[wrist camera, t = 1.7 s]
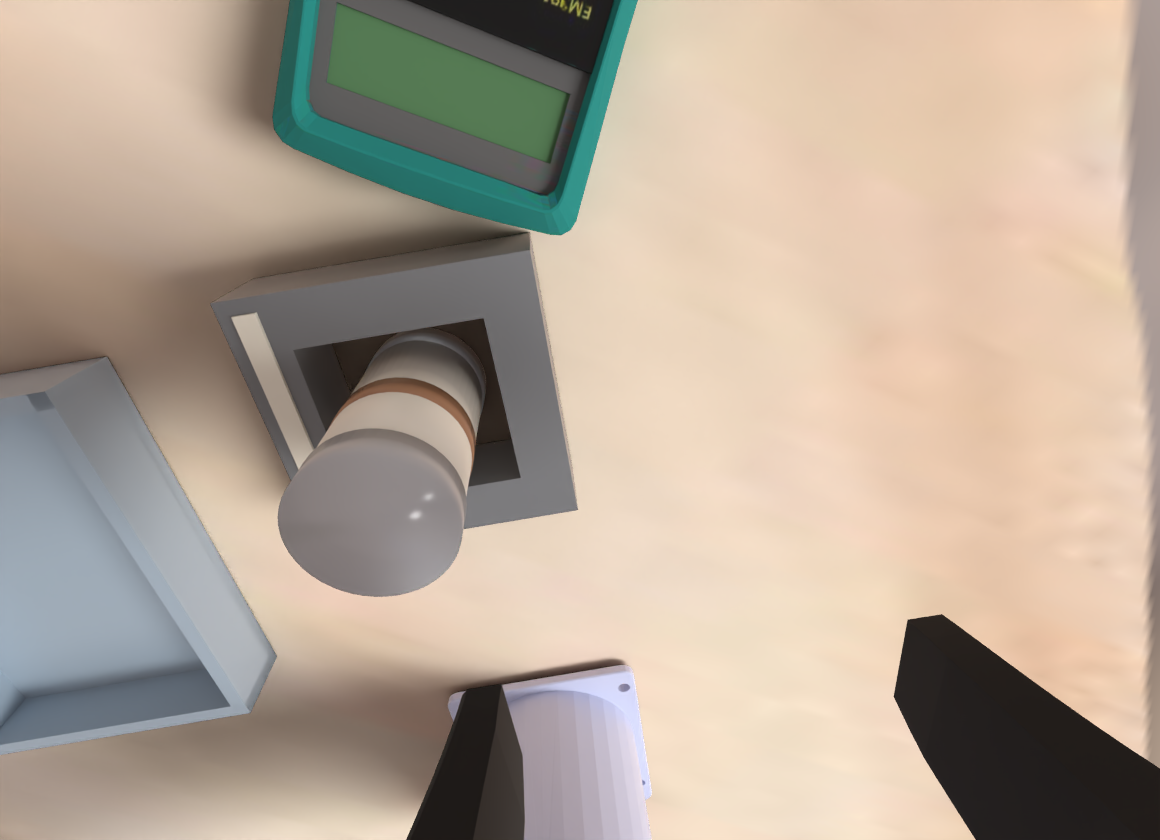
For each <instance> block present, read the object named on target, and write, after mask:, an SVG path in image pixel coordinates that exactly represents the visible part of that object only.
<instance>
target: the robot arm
mask: <svg viewBox="0 0 1160 840" xmlns="http://www.w3.org/2000/svg"><path fill="white" fill-rule="evenodd" d="M894 698H895V700H896V702H897V704H898V706H899V708H900V711H901V713H902V715H903V717H904V719H905V721H906V723H907V725H908V727H909V729H910V731H911V733H912V735H913V737H914V739H915V741H916V743H917V745H918V747H919V749H920V751H921V753H922V755H923V757H924V758H925V760H926V762H927V763H928V765H929V766H930V768H931V770H932V771H933V773H934V775H935V776H936V778H937V779H938V781H939V783H940V784H941V786H942V787H943V789H944V790H945V792H946V794H947V795H948V797H949V798H950V800H951V802H952V803H953V805H954V806H955V808H956V809H957V811H958V813H959V814H960V816H961V817H962V819H963V820H964V822H965V824H966V825H967V827H968V828H969V830H970V831H971V833H972V835H973V836H974V838H975V839H976V840H1160V768H1158V767H1157V766H1155V765H1154V764H1152V763H1151V762H1149V761H1148V760H1146V759H1144V758H1143V757H1141V756H1140V755H1138V754H1137V753H1135V752H1134V751H1132V750H1131V749H1129V748H1128V747H1126V746H1125V745H1123V744H1122V743H1120V742H1119V741H1117V740H1116V739H1114V738H1113V737H1111V736H1110V735H1109V734H1107V733H1106V732H1104V731H1103V730H1101V729H1100V728H1098V727H1097V726H1095V725H1094V724H1092V723H1091V722H1090V721H1088V720H1087V719H1085V718H1084V717H1082V716H1081V715H1080V714H1078V713H1077V712H1075V711H1074V710H1073V709H1071V708H1070V707H1068V706H1067V705H1065V704H1064V703H1063V702H1061V701H1060V700H1058V699H1057V698H1056V697H1054V696H1053V695H1051V694H1050V693H1049V692H1047V691H1046V690H1044V689H1043V688H1042V687H1040V686H1039V685H1037V684H1036V683H1035V682H1033V681H1032V680H1031V679H1029V678H1028V677H1026V676H1025V675H1024V674H1022V673H1021V672H1020V671H1018V670H1017V669H1016V668H1014V667H1013V666H1011V665H1010V664H1009V663H1007V662H1006V661H1005V660H1003V659H1002V658H1001V657H999V656H998V655H997V654H995V653H994V652H992V651H991V650H990V649H988V648H987V647H986V646H984V645H983V644H982V643H980V642H979V641H978V640H976V639H975V638H974V637H972V636H971V635H970V634H968V633H967V632H965V631H964V630H963V629H961V628H960V627H959V626H957V625H956V624H955V623H953V622H952V621H950V620H949V619H948V618H946V617H945V616H944V615H942V614H941V615H935V616H929V617H922V618H916V619H910V620H908V621H907V626H906V632H905V637H904V643H903V649H902V654H901V660H900V665H899V671H898V676H897V682H896V687H895V693H894ZM448 709H449V712H450V714H451V717H452V720H453V725H452V728H451V731H450V734H449V736H448V739H447V742H446V744H445V747H444V750H443V752H442V755H441V758H440V760H439V763H438V765H437V768H436V770H435V773H434V776H433V778H432V781H431V783H430V785H429V788H428V790H427V792H426V795H425V797H424V800H423V802H422V804H421V807H420V809H419V811H418V814H417V816H416V818H415V821H414V823H413V826H412V828H411V830H410V832H409V835H408V837H407V839H406V840H652V837H651V831H650V825H649V819H648V814H647V808H646V802H645V800H646V799H648V798H649V797H650V796H651V794H652V791H651V784H650V777H649V771H648V764H647V758H646V751H645V745H644V738H643V732H642V725H641V719H640V712H639V706H638V699H637V693H636V686H635V680H634V674H633V670H632V668H631V667H629V666H626V665H617V666H611V667H605V668H599V669H593V670H587V671H582V672H576V673H570V674H564V675H558V676H552V677H546V678H540V679H534V680H528V681H522V682H516V683H510V684H504V685H502V684H498V685H492V686H486V687H479V688H473V689H467V690H466V691H462V692H457V693H454V694H452V695H451V696H450V698H449V701H448Z"/></svg>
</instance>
